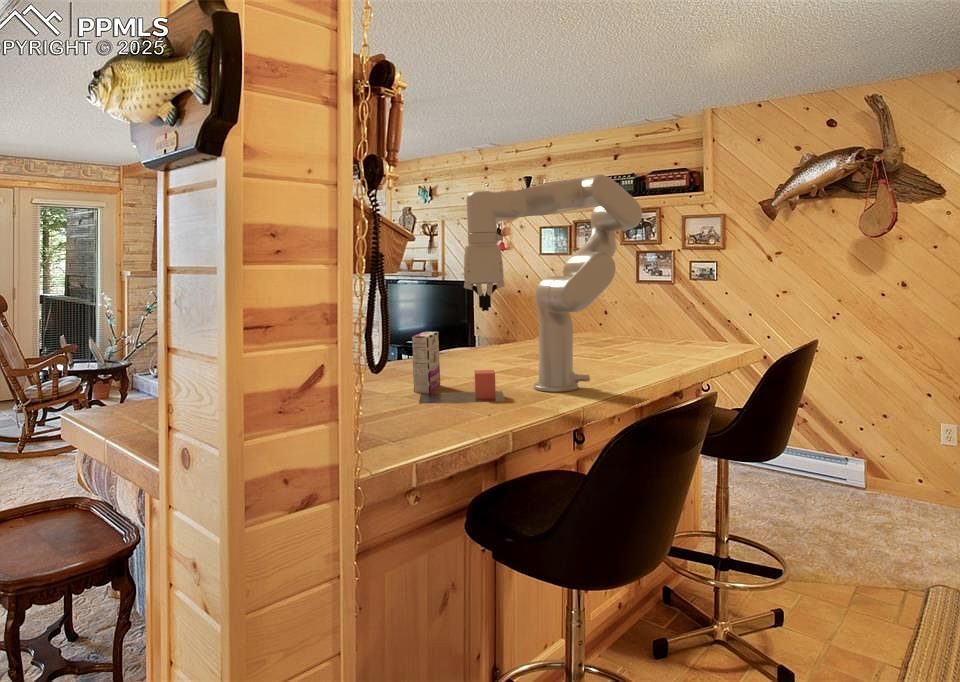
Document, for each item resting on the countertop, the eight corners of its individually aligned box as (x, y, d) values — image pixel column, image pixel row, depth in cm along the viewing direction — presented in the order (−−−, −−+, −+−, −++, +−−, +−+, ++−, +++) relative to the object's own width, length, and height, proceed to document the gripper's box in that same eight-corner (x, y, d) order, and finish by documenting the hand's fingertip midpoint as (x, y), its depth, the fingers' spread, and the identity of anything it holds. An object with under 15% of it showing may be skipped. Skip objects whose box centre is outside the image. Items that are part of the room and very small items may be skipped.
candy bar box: (424, 387, 189) (422, 331, 188) (440, 387, 188) (439, 331, 187) (412, 395, 179) (411, 335, 177) (430, 395, 178) (428, 336, 176)
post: (501, 394, 178) (501, 373, 177) (505, 404, 165) (505, 381, 164) (421, 396, 177) (420, 375, 176) (418, 406, 164) (418, 383, 163)
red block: (494, 394, 174) (494, 369, 173) (495, 398, 169) (495, 373, 168) (474, 394, 174) (474, 370, 173) (475, 398, 169) (475, 373, 168)
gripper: (509, 239, 173) (511, 308, 176) (453, 241, 172) (456, 310, 175) (513, 238, 166) (515, 310, 168) (454, 240, 165) (457, 313, 167)
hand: (485, 310), depth 171 cm, fingers closed
